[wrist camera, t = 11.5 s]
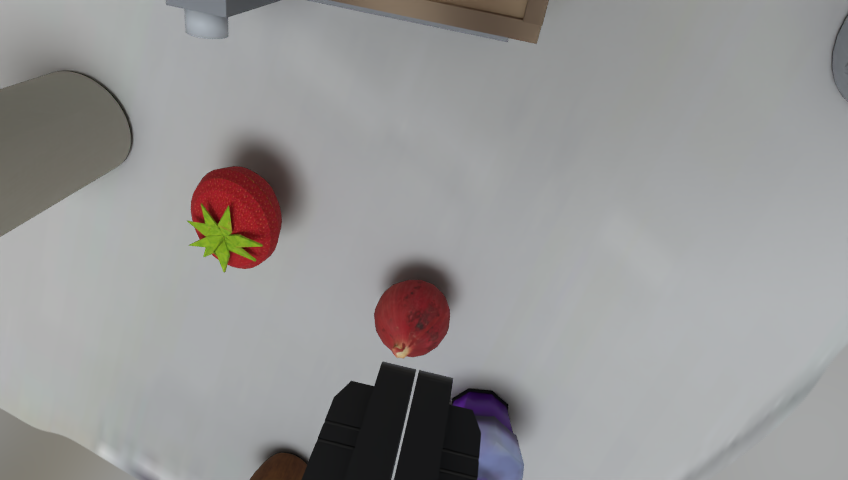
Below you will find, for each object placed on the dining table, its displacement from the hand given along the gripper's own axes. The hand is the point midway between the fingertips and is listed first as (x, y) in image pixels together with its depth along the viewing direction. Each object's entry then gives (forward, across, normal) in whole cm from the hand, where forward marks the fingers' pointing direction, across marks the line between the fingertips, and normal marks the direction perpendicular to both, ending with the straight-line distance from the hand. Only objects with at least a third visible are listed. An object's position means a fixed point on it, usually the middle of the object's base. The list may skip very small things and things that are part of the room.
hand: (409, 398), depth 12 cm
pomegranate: (+29, +1, +18) cm, 35 cm away
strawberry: (+29, +15, +12) cm, 35 cm away
